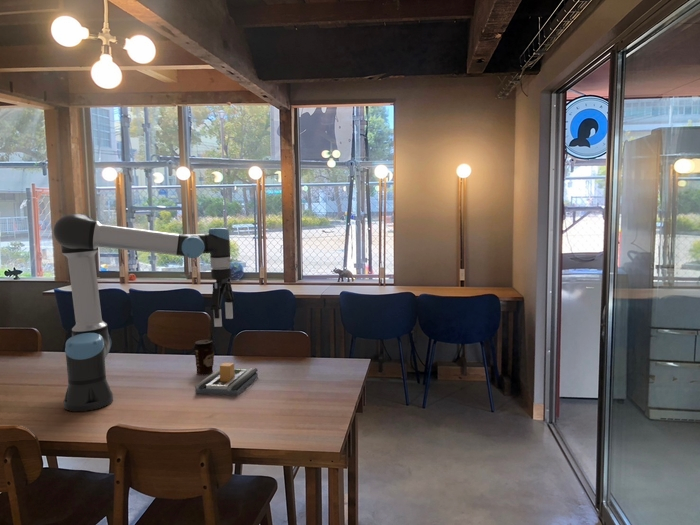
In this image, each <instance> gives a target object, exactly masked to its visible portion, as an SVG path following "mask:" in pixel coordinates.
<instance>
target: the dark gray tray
mask: <svg viewBox="0 0 700 525" xmlns="http://www.w3.org/2000/svg"><path fill="white" fill-rule="evenodd" d="M255 373H258V368H256V367H254V368H253V367H251V368H249V369H247V372H245V373H244V374H243V375H242V376H241V377H239V378H238V379H237V380H236V381H235V382H233V383H232V384H231V385H230V386H229V387H227V390H228V391H230V390H231V389H232V391H235V390H236V389H237V388H239V387H240V386H241V385H242V384H243V383H244V382H245V381H247V380H248V379H249V378H250V377H251V376H252V375H253V374H255ZM219 375H220V367H219V368H217V369H216V370H215V371H214V372H213V373H211V374H209V375H207V377H206V378H204V379H203V380H202V381H200V382H199V383H197V384H195V386H194V389H198V388H200V389H203V388H205V387H206V385H207V384H208V383H209V382H211V381H212V380H213V379H215V378H216V377H217V376H219Z"/></svg>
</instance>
